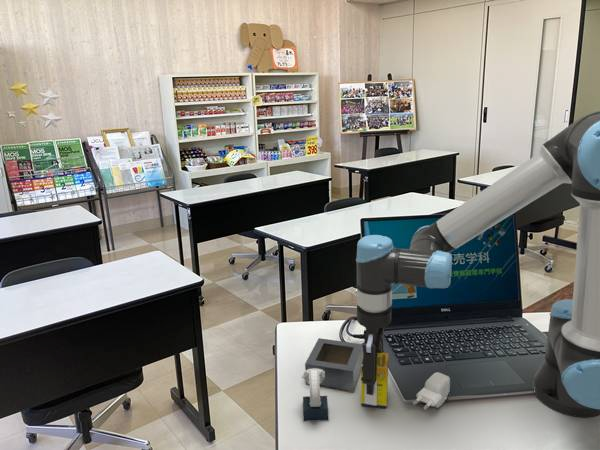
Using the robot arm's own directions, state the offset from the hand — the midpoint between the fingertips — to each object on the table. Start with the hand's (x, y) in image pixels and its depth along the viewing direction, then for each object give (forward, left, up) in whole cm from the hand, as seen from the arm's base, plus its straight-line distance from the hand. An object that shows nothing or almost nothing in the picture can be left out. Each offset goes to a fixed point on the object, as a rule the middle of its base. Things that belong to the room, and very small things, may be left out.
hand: (373, 393), depth 111 cm
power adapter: (-13, -1, -2) cm, 13 cm away
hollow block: (+11, -7, -2) cm, 13 cm away
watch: (+12, +8, -2) cm, 14 cm away
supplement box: (0, 0, -2) cm, 2 cm away
